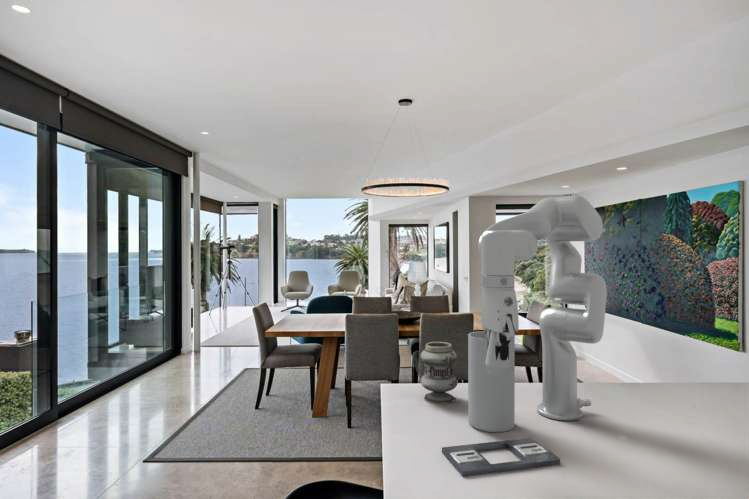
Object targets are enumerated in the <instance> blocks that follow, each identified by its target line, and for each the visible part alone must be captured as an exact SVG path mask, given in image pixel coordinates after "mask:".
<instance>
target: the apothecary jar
mask: <svg viewBox="0 0 749 499" xmlns="http://www.w3.org/2000/svg"><path fill="white" fill-rule="evenodd" d="M420 358H421V361H423V362H424V364H423V365H424V373H423V374H424V375H422V376H421V379H420V384H421V386H422V387H423V388H424V389H425V390H428V391H429V392H428V393H426V394H425V395H424V397H423V398H424V400H425V401H427V402H429V403H433V404H441V405H443V404H449V403H452V402H453V401H455V397H454V395H452V394H451V393H449V392H450V391H453V390H454V389H455V388H456V387H457V386H458V382H459V381H458V378H457V376H456V375H454V372H455V371H454V362H456V361H457V358H458V355H457V353H456V351H455V350H454V349H453V346H452V343H450V342H445V341H444V342H443V341H430V342H427V343H426V344H425V348H424V350H422V351H421V353H420Z"/></svg>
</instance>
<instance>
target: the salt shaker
mask: <svg viewBox="0 0 749 499" xmlns="http://www.w3.org/2000/svg"><path fill="white" fill-rule="evenodd" d="M503 332H505V329H504V331H503ZM503 336H505V335H501V338H502V337H503ZM495 346H497V336H496V332H494V331H491V334H490V340H489V345H488V351H487V356H486V361H485V363H486V367H487V370H488V372H489V374H491V375H494V376H505V375H507V374H508V371H509V369H510V367H511V363H510V357H509V360H508V356H507V360H501V359H500V352H499V354H498V357H497V361H496V354H495Z"/></svg>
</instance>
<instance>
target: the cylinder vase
mask: <svg viewBox="0 0 749 499" xmlns="http://www.w3.org/2000/svg"><path fill="white" fill-rule="evenodd" d="M467 337H468V338H467V339H468V340H467V342H468V343H467V346H468V350H467V351H468V352H467V356H468V357H467V358H468V362H467V363H468V364H467V366H468V367H467V369H468V374H467V375H468V376H467V378H468V383H467V384H468V386H467V388H468V389H467V390H468V392H467V393H468V395H467V397H468V399H467V403H468V404H467V405H468V408H467V410H468V412H467V413H468V414H467V415H468V423H469V424H470V426H471V427H473V428H475V429H477V430H479V431H483V432H487V433H497V434H498V433H506V432H509V431H510V430H513V429H514V427H515V425H516V424H515V423H516V422H515V419H516V418H515V406H516V404H515V402H516V401H515V398H516V397H515V396H516V394H515V393H516V392H515V386H516V385H515V382H516V381H515V369H516V368H515V356H516V355H515V343H516V342H515V338H516V337H515V338H514V339H512V340H511V341H510V346H509V357H510V363H511V367H510V369H509V371H508V374H507V375H505V376H494V375H491V374H489V372H488V370H487V367H486V363H485V361H486V356H487V340H486V333H485V330H483V331H480V330H479V331H473V332H470V333H468V336H467Z"/></svg>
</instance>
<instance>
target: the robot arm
mask: <svg viewBox="0 0 749 499" xmlns="http://www.w3.org/2000/svg"><path fill="white" fill-rule="evenodd" d="M603 228H604V224H603V221H602V218H601V215H600V214H599V212H598V211H597V209H595V208H594V206H593V205H592V203H590V201H589V200H588V199H586V198H585V197H584V196H581V195H578V194H577V195H574V194H572V195H563V196H549V197H546V198H542V199H541V200H540V201H538V202H537V203H536V204H534V205H533V206H532V207H531V208H530V209H529V210H526V212H523V213H519V214H518V215H514V216H511V217H509V218H506V219H502V220H500V221H498V222H495V223H493V224H492V225H490V226H488V228H487V229H485V230H484V231H483V232H482V234H481V235H480V236H479V239H478V243H477V246H478V247H477V248H478V252H479V254H480V256H481V257H480V259H481V260H480V261H481V262H480V264H481V265H480V266H481V268H480V272H481V273H480V274H481V276H480V278H481V279H480V280H481V282H480V283H481V284H480V285H481V291H482V292H481V298H480V299H481V302H480V303H481V304H480V322H481V326H482V329H483V331H485V333H486V340H487V351H488V345H489V340H490V334H491V331H494V332H496V336H497V346H495V354H496V361H497V357H498V354H499V352H500V359H501V360H507V356H508V360H509V346H510V341H511V340H512V339H514V338H516V334H515V333H517V332H519V328H520V326H519V323H520V322H519V308H518V305H519V304H518V299H517V293H516V290H515V262H516V261H518V262H519V261H520V262H521V261H522V262H523V261H528V260H531V259H532V258H534V257H535V255H536V254H537V252H538V249H539V243H538V242H539V241H542V240H543V239H544V240H545V243H546V244H547V246H548V249H549V251H550V255H551V263H550V273H549V281H548V297H549V299H550V300H551V301H552V302H555V303H558V304H566V305H577V306H585V309H583V308H582V309H581V308H571V307H561V306H560V307H559V306H550V307H547V308H544V309H543V310H541V312H540V314H539V318H538V324H539V332H540V336H541V345H542V347H541V348H542V402H541V403H540V404H538V405H537V406H536V412H537V413H538V414H540V415H542V416H543V417H546V418H548V419H552V420H557V421H565V422H566V421H567V422H568V421H577V420H580V419H582V418H583V417H584V416H583V415H584V414H583V411H582V410H581V409H582V408H583V407H590V406H592V401H591V400H590V399H582V398H580V397H578V364H577V363H578V356H577V352H576V350H575V349H574V347H573V345H572V344H571V342H575V343H582V344H591V345H592V344H593V345H594V344H597V343H599V342H601V340H602V338H603V336H604V329H605V321H606V320H605V318H606V316H605V315H606V306H607V304H606V303H607V293H608V292H607V284H606V283H607V282H606V281H605V278H604V277H602V275H600V274H597V273H591V272H581V271H582V262H583V258H582V255H581V254H580V253H579V251H578V249H577V248H576V247H575V246H574V245H573V244H572V243H571V242H594V241H596V240H598V239H599V238H600V237H601V235H602V234H603V232H604V231H603V230H604V229H603ZM504 330H505V332H503V331H504ZM501 335H505V336H503V337H502V338H501Z"/></svg>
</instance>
